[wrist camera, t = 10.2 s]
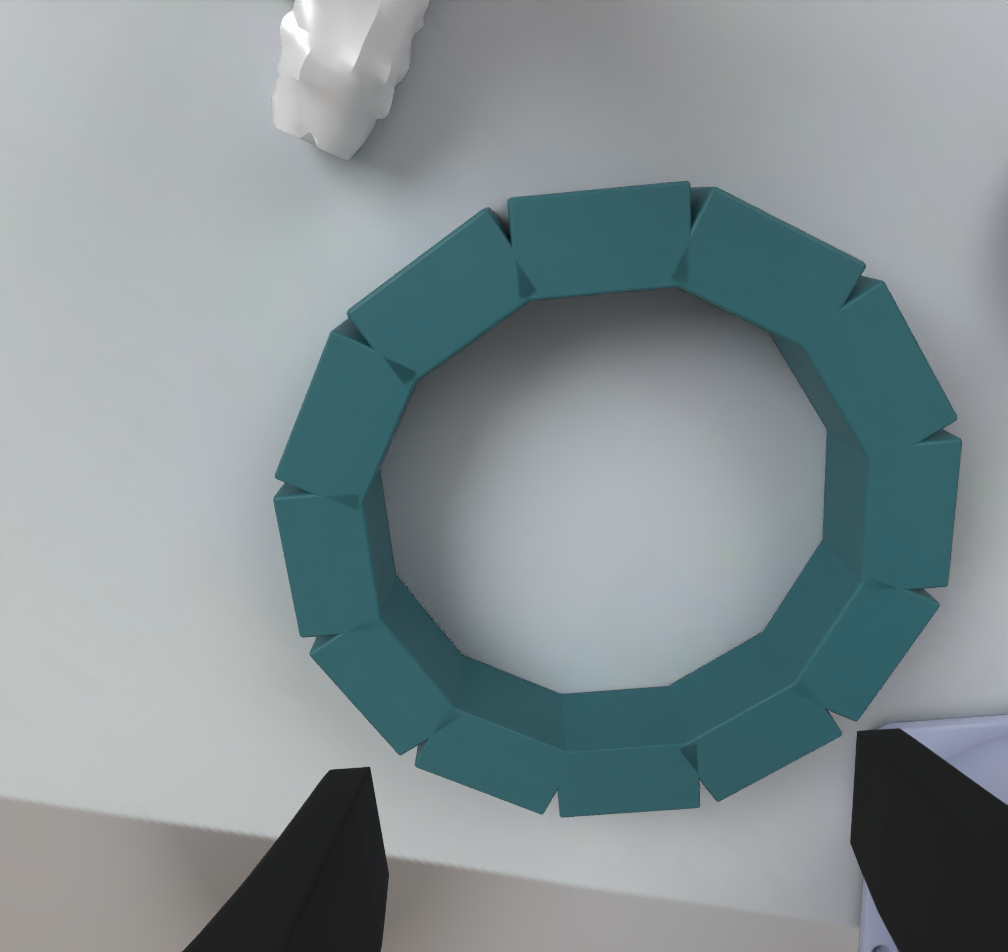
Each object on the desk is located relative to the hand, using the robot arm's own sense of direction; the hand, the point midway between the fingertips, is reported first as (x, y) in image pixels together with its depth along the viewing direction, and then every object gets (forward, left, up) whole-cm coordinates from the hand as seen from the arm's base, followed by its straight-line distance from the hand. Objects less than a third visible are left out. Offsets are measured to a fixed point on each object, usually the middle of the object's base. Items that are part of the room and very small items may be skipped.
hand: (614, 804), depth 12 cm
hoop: (+1, -1, -9) cm, 10 cm away
